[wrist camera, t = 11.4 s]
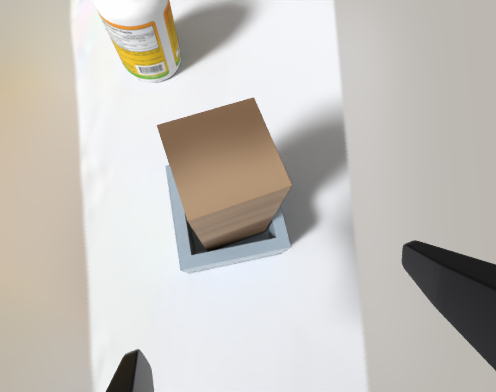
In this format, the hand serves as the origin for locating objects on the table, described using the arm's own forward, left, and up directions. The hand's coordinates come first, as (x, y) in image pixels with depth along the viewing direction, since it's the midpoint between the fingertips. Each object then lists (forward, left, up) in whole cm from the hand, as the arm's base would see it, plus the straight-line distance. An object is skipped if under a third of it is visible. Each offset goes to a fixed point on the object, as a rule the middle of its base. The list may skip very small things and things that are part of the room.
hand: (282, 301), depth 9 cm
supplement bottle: (+23, +5, -14) cm, 27 cm away
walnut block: (+6, +1, -13) cm, 14 cm away
